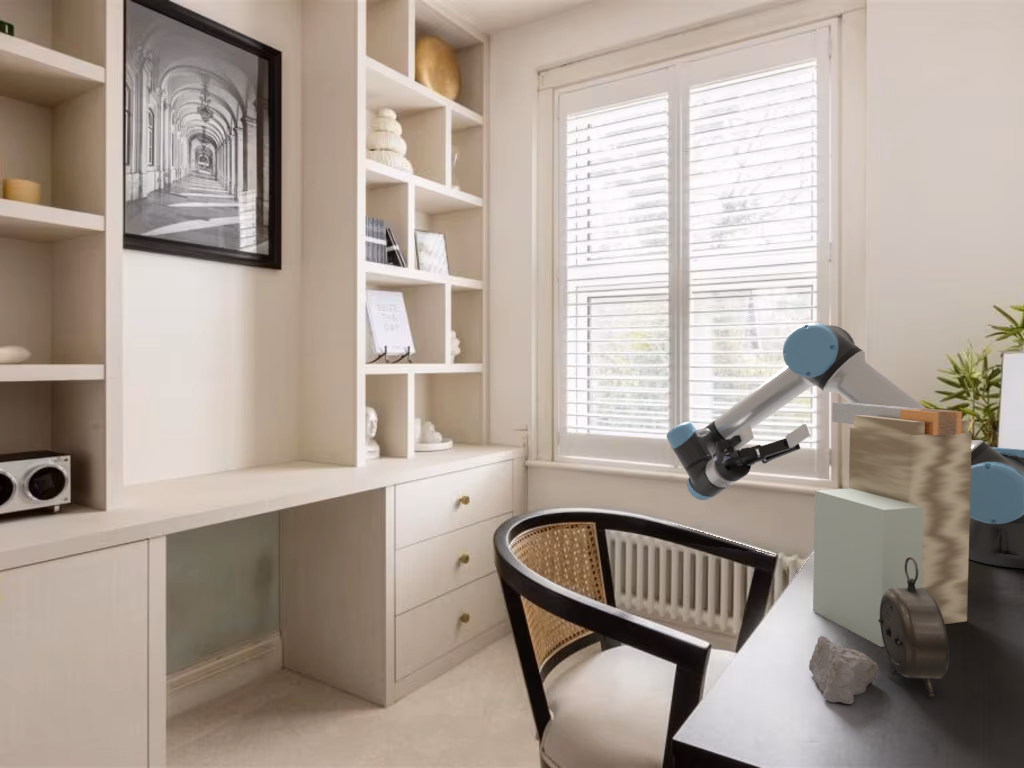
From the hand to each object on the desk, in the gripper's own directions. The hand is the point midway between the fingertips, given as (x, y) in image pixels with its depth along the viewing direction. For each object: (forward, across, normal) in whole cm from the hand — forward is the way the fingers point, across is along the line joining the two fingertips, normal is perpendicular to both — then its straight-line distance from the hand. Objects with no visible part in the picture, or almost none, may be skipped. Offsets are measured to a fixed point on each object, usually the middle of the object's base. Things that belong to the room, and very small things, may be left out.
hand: (779, 430), depth 137 cm
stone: (+30, +28, -48) cm, 63 cm away
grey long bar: (+26, -1, -11) cm, 28 cm away
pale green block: (+17, +10, -40) cm, 45 cm away
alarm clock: (+31, +18, -49) cm, 60 cm away
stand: (+14, -1, -39) cm, 41 cm away
